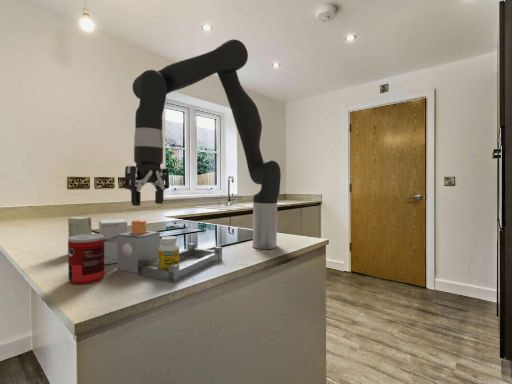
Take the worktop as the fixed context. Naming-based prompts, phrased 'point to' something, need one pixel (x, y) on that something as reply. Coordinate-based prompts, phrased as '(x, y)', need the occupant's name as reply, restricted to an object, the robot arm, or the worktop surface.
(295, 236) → the worktop surface
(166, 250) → the supplement bottle
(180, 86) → the robot arm
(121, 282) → the worktop surface
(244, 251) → the worktop surface
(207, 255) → the grey rectangular tray
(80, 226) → the skincare box
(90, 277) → the canned food
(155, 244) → the cabinet
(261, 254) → the worktop surface
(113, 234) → the supplement box
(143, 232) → the brown egg
